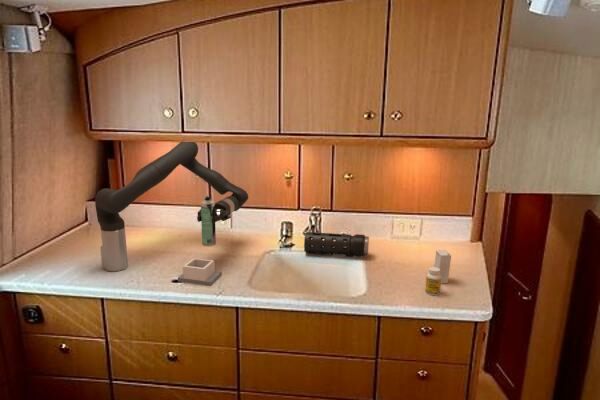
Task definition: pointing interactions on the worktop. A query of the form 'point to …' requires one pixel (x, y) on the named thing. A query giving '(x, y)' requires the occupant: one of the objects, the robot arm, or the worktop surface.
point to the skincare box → (443, 264)
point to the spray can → (208, 222)
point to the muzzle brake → (336, 244)
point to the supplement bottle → (433, 281)
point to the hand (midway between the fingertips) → (205, 219)
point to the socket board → (199, 272)
